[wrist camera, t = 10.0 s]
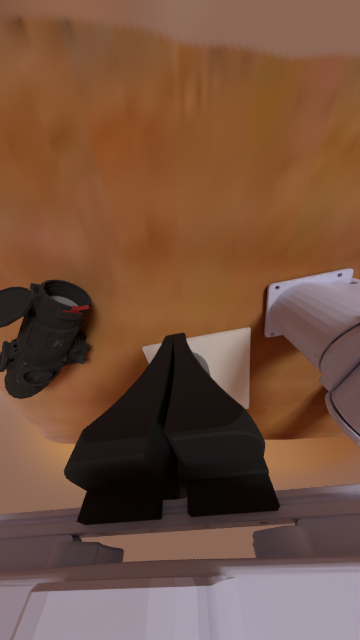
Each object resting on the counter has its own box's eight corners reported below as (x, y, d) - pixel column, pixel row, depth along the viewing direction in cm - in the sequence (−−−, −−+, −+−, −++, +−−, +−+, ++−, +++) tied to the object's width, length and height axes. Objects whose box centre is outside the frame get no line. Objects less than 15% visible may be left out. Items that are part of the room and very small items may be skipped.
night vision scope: (59, 356, 28) (-36, 363, 20) (102, 275, 21) (-16, 237, 13) (68, 398, 24) (-46, 428, 16) (123, 316, 17) (-23, 298, 9)
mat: (249, 327, 22) (250, 328, 22) (248, 406, 32) (248, 408, 32) (142, 346, 24) (141, 348, 23) (172, 416, 34) (172, 418, 33)
